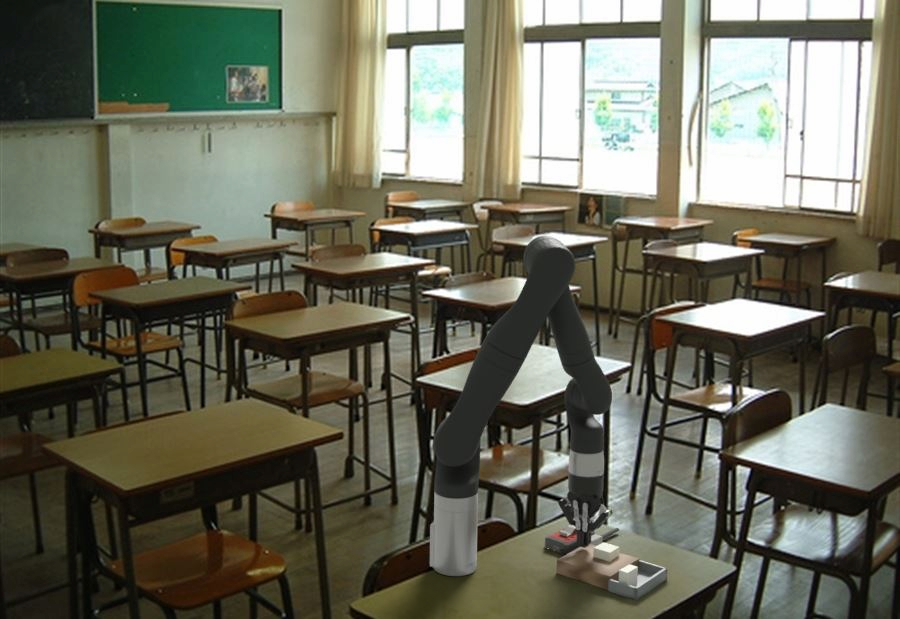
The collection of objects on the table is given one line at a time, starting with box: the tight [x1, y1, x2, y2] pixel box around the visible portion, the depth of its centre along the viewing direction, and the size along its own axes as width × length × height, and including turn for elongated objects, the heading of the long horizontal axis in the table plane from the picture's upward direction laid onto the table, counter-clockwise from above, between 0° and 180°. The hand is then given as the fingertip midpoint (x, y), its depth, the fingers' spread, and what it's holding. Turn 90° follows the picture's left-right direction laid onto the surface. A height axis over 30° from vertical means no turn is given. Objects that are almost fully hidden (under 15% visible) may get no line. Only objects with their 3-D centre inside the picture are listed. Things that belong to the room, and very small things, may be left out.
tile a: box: [619, 564, 638, 586], centre depth 233 cm, size 4×4×2 cm
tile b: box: [593, 542, 620, 562], centre depth 242 cm, size 4×4×2 cm
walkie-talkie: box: [544, 524, 620, 555], centre depth 258 cm, size 9×4×20 cm
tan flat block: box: [556, 544, 640, 591], centre depth 241 cm, size 13×12×3 cm
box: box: [607, 559, 668, 601], centre depth 235 cm, size 6×13×2 cm, turn 141°
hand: (583, 545), depth 246 cm, fingers closed
